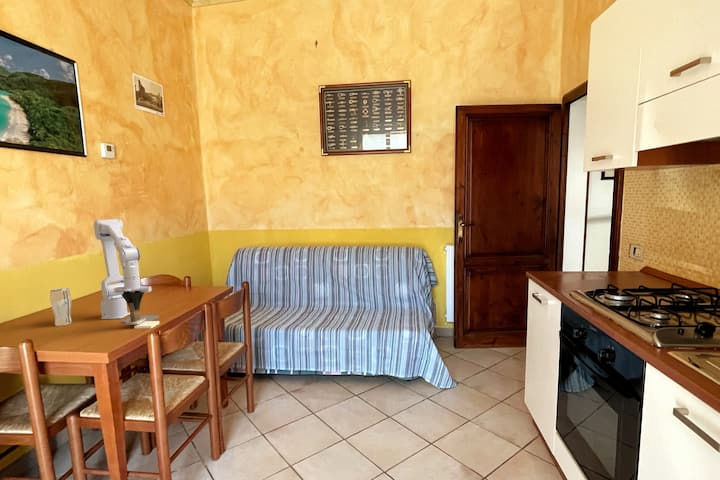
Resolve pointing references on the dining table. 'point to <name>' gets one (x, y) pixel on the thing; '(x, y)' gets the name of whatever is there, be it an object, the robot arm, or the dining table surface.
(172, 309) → the dining table surface
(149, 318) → the rest mat
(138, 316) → the grey upright block
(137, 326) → the tile
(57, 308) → the beer glass
